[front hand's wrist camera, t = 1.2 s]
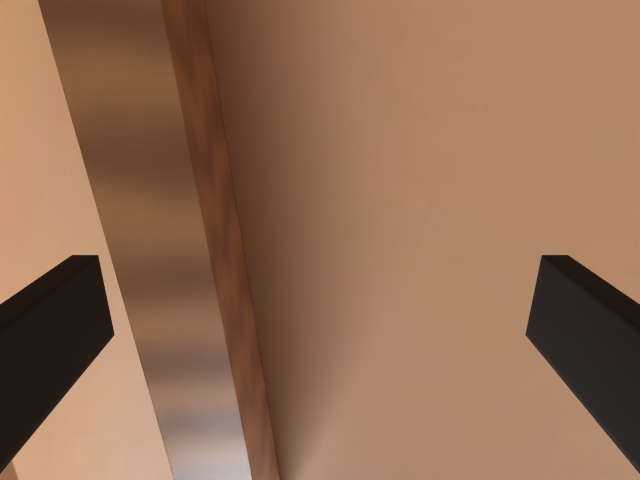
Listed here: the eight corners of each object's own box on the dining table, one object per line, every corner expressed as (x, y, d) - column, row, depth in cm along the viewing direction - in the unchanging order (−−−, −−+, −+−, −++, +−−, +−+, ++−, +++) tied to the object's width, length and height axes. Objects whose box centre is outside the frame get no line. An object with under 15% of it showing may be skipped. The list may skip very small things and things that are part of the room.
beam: (90, -108, 23) (-20, -200, 16) (185, -118, 23) (120, -216, 15) (231, 514, 41) (211, 611, 33) (285, 511, 40) (277, 607, 33)
